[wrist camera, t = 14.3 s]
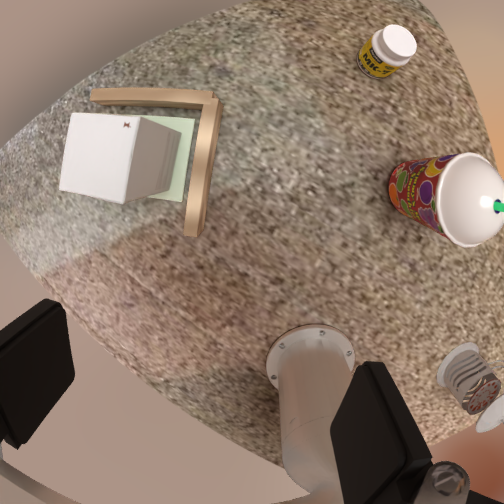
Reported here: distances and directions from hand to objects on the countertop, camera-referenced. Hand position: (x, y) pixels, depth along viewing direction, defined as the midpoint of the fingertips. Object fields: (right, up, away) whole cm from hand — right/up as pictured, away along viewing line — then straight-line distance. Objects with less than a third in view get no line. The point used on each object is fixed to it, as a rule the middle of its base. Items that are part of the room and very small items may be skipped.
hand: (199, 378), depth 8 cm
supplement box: (-11, +15, +25) cm, 32 cm away
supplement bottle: (+17, +27, +22) cm, 39 cm away
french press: (+39, -16, +32) cm, 53 cm away
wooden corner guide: (-11, +15, +26) cm, 32 cm away
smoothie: (+21, +12, +26) cm, 35 cm away
